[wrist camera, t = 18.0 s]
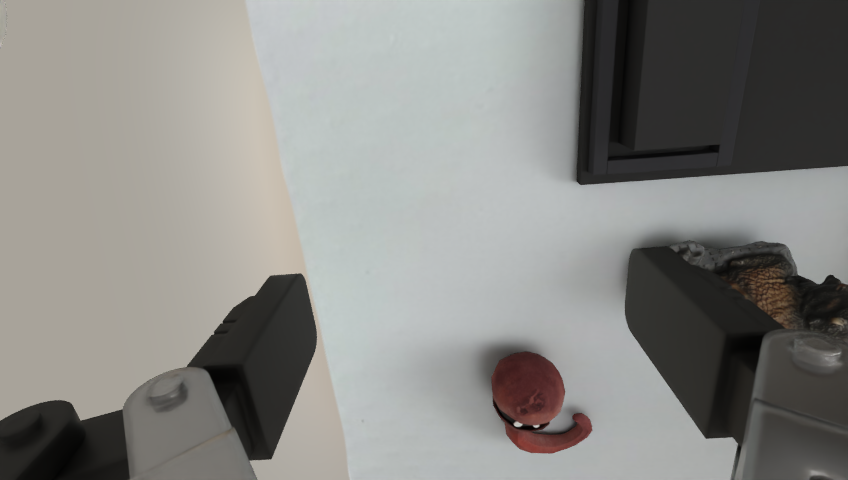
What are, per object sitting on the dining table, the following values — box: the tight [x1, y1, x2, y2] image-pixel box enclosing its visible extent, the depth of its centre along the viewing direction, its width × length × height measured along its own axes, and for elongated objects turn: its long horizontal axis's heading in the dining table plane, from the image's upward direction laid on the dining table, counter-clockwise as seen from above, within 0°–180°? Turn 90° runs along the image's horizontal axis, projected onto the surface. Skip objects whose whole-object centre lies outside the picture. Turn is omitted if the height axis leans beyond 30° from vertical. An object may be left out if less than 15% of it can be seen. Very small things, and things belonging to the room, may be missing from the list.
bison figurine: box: [668, 240, 848, 343], centre depth 32 cm, size 12×7×10 cm, turn 97°
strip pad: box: [618, 0, 744, 151], centre depth 28 cm, size 12×6×3 cm, turn 5°
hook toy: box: [491, 352, 592, 453], centre depth 40 cm, size 11×6×12 cm
